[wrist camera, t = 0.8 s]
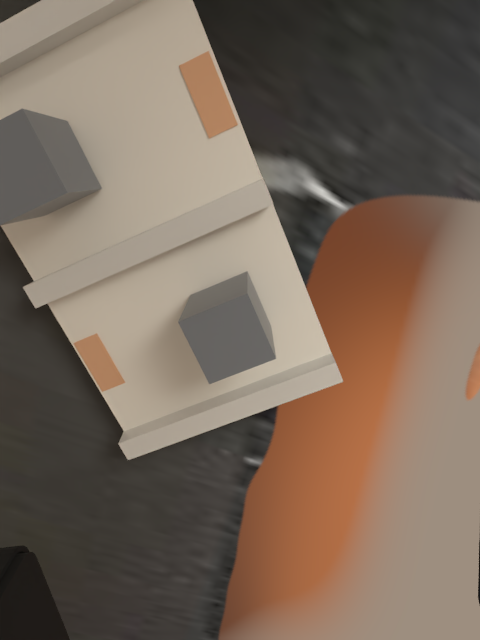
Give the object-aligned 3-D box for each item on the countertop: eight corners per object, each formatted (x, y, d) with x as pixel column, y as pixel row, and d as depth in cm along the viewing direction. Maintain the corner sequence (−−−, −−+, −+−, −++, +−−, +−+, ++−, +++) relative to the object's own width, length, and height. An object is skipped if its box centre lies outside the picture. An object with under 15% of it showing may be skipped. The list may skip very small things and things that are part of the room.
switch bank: (177, -37, 24) (166, -70, 21) (333, 359, 31) (343, 381, 28) (-59, 92, 26) (-104, 81, 23) (139, 432, 34) (128, 460, 30)
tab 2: (247, 271, 27) (247, 293, 22) (271, 326, 28) (276, 358, 23) (190, 295, 28) (177, 321, 23) (215, 348, 29) (209, 384, 24)
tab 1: (67, 120, 24) (22, 108, 20) (102, 188, 26) (67, 192, 21) (8, 151, 25) (-50, 146, 20) (44, 215, 26) (-2, 225, 21)
